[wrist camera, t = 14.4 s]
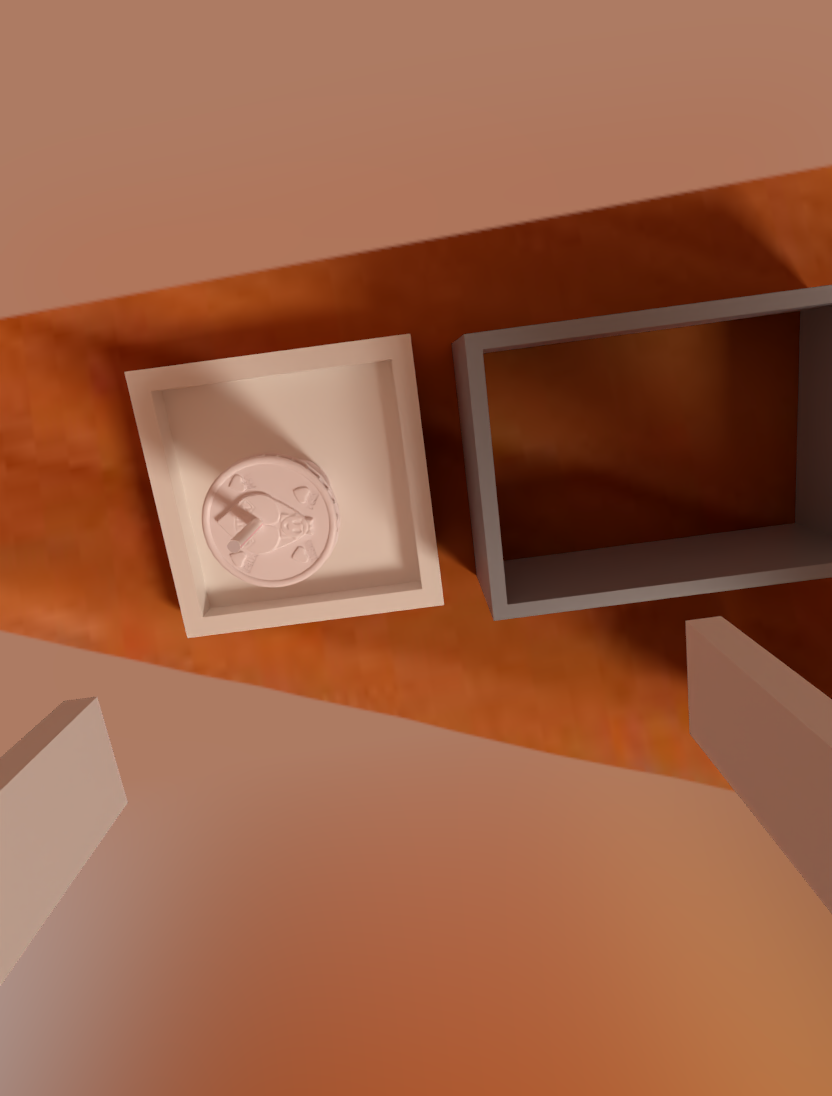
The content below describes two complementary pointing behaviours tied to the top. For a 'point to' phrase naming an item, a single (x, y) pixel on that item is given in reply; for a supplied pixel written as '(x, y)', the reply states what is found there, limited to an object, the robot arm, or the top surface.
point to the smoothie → (271, 519)
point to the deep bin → (674, 564)
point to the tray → (305, 433)
